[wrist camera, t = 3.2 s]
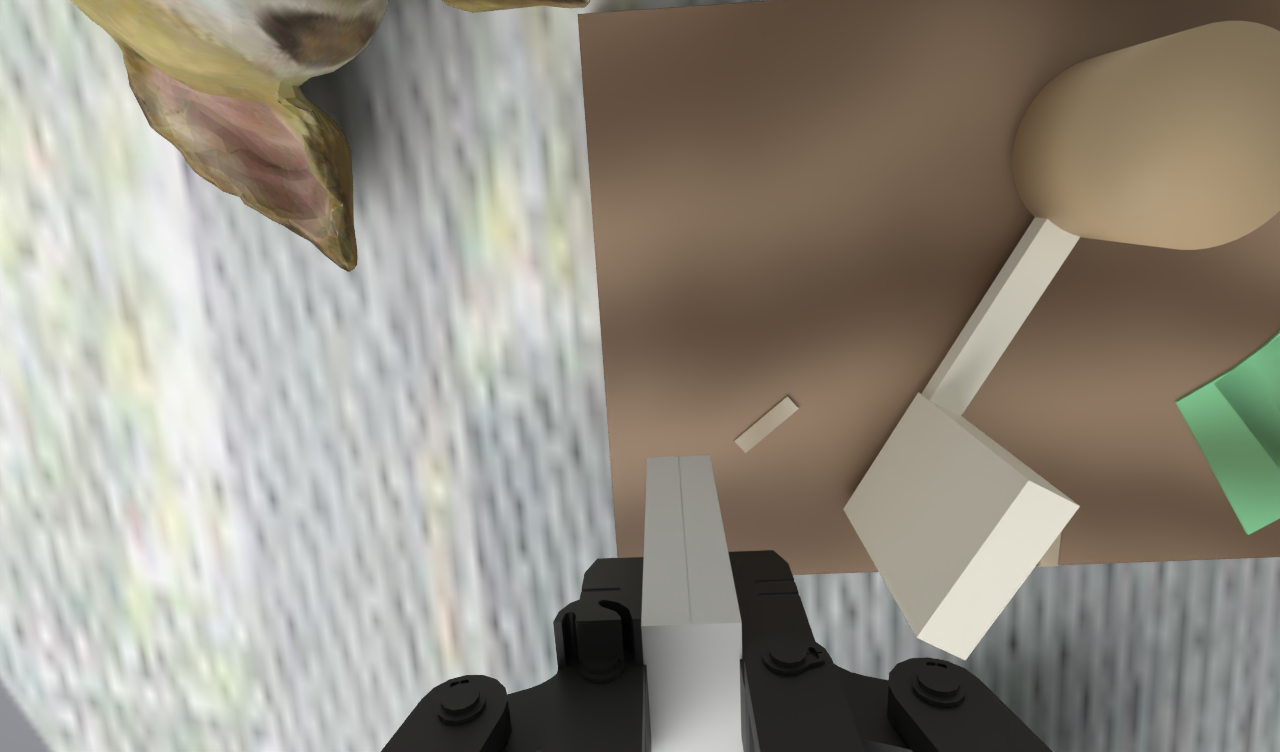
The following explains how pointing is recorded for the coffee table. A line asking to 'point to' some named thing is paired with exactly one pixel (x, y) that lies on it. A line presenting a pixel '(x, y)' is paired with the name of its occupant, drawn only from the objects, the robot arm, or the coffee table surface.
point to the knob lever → (1064, 211)
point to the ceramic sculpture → (257, 96)
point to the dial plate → (905, 276)
